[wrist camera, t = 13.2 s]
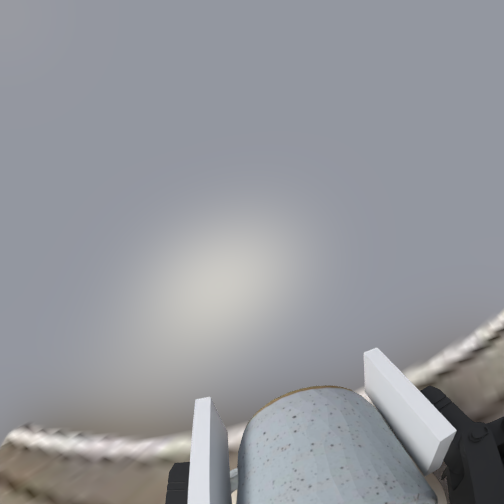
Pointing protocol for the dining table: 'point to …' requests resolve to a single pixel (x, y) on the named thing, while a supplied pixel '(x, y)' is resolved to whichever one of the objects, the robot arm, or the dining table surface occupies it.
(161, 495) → the dining table surface
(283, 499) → the ceramic mug
